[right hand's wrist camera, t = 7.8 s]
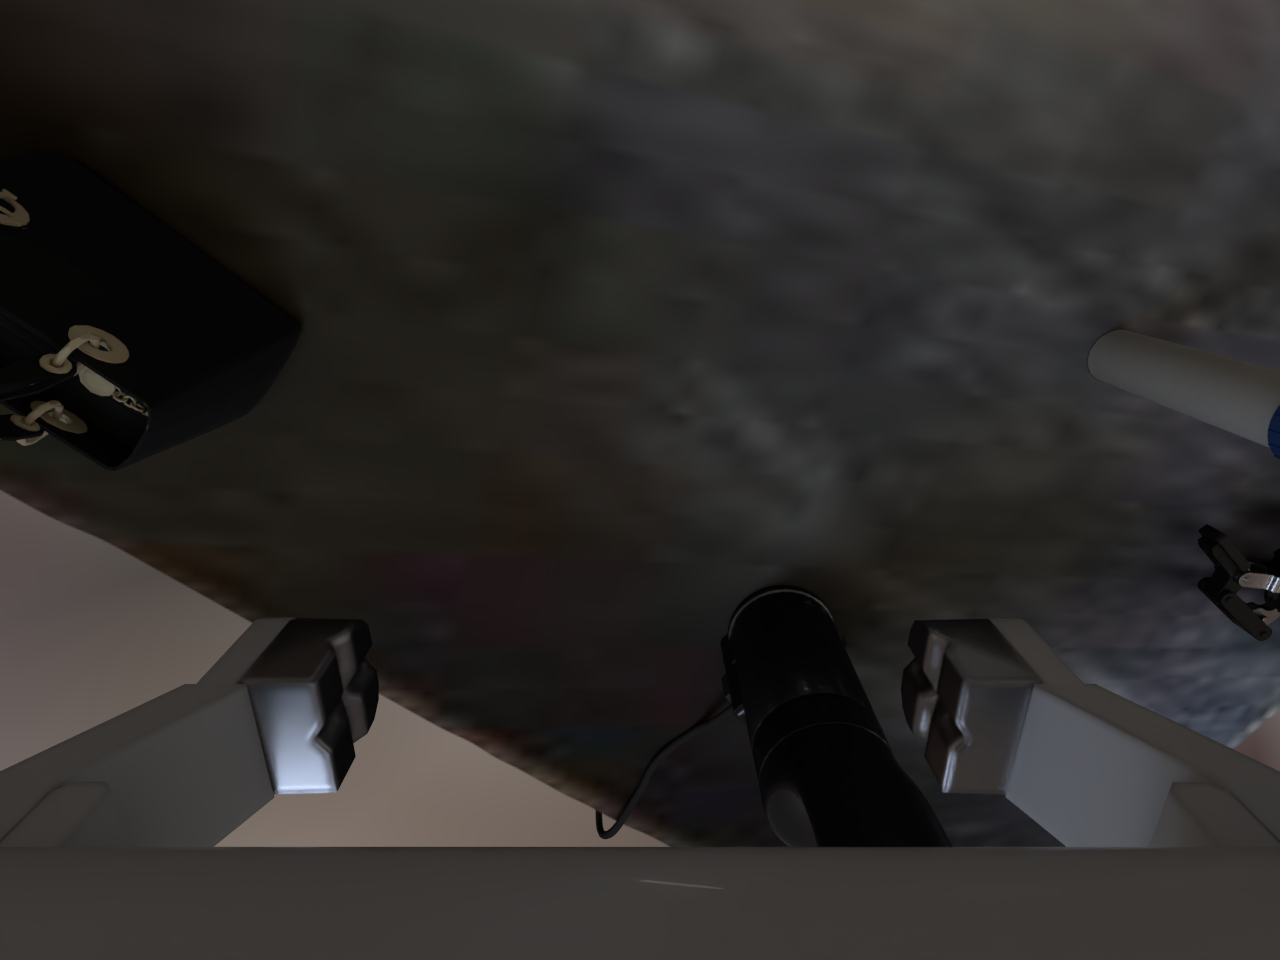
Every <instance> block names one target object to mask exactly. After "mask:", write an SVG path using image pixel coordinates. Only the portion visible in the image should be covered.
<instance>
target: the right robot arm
mask: <svg viewBox="0 0 1280 960" xmlns="http://www.w3.org/2000/svg"><path fill="white" fill-rule="evenodd" d="M371 646H372V641H371V636H370V631H369V626H368V624H367V623H366V622H365V621H364V620H363V619H322V618H296V619H295V618H262V619H258V620H255V621H254V622H253V623H252V624H251V626H250V627H249V628H248V629H247V630H246V631H245V632H244V633H243V634H242V635H241V636H240V637H239V638H238V640H237V641H236V642H235V643H234V644H233V645H232V646H231V647H230V648H229V649H228V650H227V651H226V652H225V654H224V655H223V656H222V657H221V658H220V659H219V660H218V661H217V662H216V663H215V664H214V665H213V666H212V668H211V669H210V670H209V671H208V672H207V673H206V674H205V675H204V676H203V677H202V678H201V679H200V680H199V682H198V683H197V684H184V685H182V686H180V687H178V688H176V689H174V690H171V691H169V692H167V693H165V694H163V695H161V696H159V697H157V698H155V699H153V700H150V701H148V702H146V703H144V704H142V705H140V706H138V707H136V708H133V709H131V710H129V711H127V712H125V713H123V714H121V715H119V716H116V717H114V718H112V719H110V720H108V721H106V722H104V723H102V724H100V725H98V726H95V727H93V728H91V729H89V730H87V731H85V732H83V733H80V734H78V735H76V736H74V737H72V738H70V739H68V740H66V741H64V742H61V743H59V744H57V745H55V746H53V747H51V748H49V749H47V750H45V751H42V752H40V753H38V754H36V755H34V756H32V757H30V758H28V759H25V760H23V761H21V762H19V763H17V764H15V765H13V766H11V767H9V768H6V769H4V770H2V771H0V960H1280V772H1279V771H1277V770H1275V769H1273V768H1271V767H1269V766H1267V765H1265V764H1263V763H1260V762H1258V761H1256V760H1254V759H1252V758H1250V757H1248V756H1246V755H1244V754H1241V753H1239V752H1237V751H1235V750H1233V749H1231V748H1229V747H1227V746H1225V745H1222V744H1220V743H1218V742H1216V741H1214V740H1212V739H1210V738H1208V737H1206V736H1203V735H1201V734H1199V733H1197V732H1195V731H1193V730H1191V729H1189V728H1187V727H1184V726H1182V725H1180V724H1178V723H1176V722H1174V721H1172V720H1170V719H1168V718H1165V717H1163V716H1161V715H1159V714H1157V713H1155V712H1153V711H1151V710H1149V709H1146V708H1144V707H1142V706H1140V705H1138V704H1136V703H1134V702H1132V701H1130V700H1128V699H1125V698H1123V697H1121V696H1119V695H1117V694H1115V693H1113V692H1111V691H1109V690H1106V689H1104V688H1102V687H1100V686H1098V685H1096V684H1083V683H1082V682H1081V680H1080V679H1079V678H1078V677H1077V676H1076V675H1075V674H1074V673H1073V672H1072V671H1071V670H1070V669H1069V667H1068V666H1067V665H1066V664H1065V663H1064V662H1063V661H1062V660H1061V659H1060V658H1059V657H1058V656H1057V655H1056V653H1055V652H1054V651H1053V650H1052V649H1051V648H1050V647H1049V646H1048V645H1047V644H1046V643H1045V642H1044V641H1043V639H1042V638H1041V637H1040V636H1039V635H1038V634H1037V633H1036V632H1035V631H1034V630H1033V629H1032V628H1031V627H1030V625H1029V624H1028V623H1027V622H1026V621H1024V620H1022V619H1019V618H1017V617H1011V618H984V619H955V620H915V621H914V623H913V625H912V627H911V630H910V635H909V640H908V646H909V647H910V649H911V651H912V652H913V654H914V656H915V658H914V659H913V660H912V661H911V663H910V664H909V665H908V666H907V667H906V668H905V669H904V670H903V677H902V685H901V694H902V706H903V710H904V714H905V717H906V721H907V723H908V725H909V727H910V729H911V731H912V733H913V734H914V735H915V736H917V737H918V738H920V739H921V740H923V741H924V742H926V743H927V745H926V751H925V756H924V757H925V758H926V760H927V762H928V764H929V766H930V768H931V770H932V772H933V774H934V776H935V778H936V780H937V781H938V783H939V785H940V787H941V789H942V791H943V793H977V794H1006V798H1007V799H1009V800H1010V801H1011V802H1012V803H1014V804H1015V805H1016V806H1017V807H1018V808H1020V809H1021V810H1022V811H1023V812H1025V813H1026V814H1027V815H1028V816H1030V817H1031V818H1032V819H1033V820H1034V821H1036V822H1037V823H1038V824H1039V825H1041V826H1042V827H1043V828H1044V829H1045V830H1047V831H1048V832H1049V833H1050V834H1052V835H1053V836H1054V837H1055V838H1057V839H1058V840H1059V841H1060V842H1061V843H1063V844H1064V845H1065V846H1066V847H214V846H215V845H216V844H217V843H219V842H220V841H221V840H222V839H224V838H225V837H226V836H227V835H229V834H230V833H231V832H232V831H233V830H235V829H236V828H237V827H238V826H240V825H241V824H242V823H243V822H245V821H246V820H247V819H248V818H250V817H251V816H252V815H253V814H254V813H256V812H257V811H258V810H259V809H261V808H262V807H263V806H264V805H266V804H267V803H268V802H269V801H270V800H272V799H273V798H274V794H302V793H336V792H337V791H338V789H339V787H340V785H341V783H342V782H343V779H344V778H345V776H346V774H347V772H348V770H349V768H350V766H351V764H352V762H353V760H354V758H355V751H354V745H353V743H354V742H356V741H357V740H359V739H360V738H362V737H363V736H365V735H366V734H367V733H368V731H369V729H370V727H371V725H372V723H373V721H374V718H375V713H376V709H377V704H378V699H379V683H378V676H377V670H376V669H375V668H374V667H373V666H372V665H371V664H370V663H369V661H368V660H367V659H366V658H365V656H366V654H367V653H368V651H369V649H370V647H371Z"/></svg>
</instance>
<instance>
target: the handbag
mask: <svg viewBox="0 0 1280 960" xmlns="http://www.w3.org/2000/svg"><path fill="white" fill-rule="evenodd" d="M299 334H300V328H299V326H298V324H297V323H296V322H294V321H293V320H292V319H290V318H289V317H288V316H286V315H285V314H284V313H282V312H281V311H279V310H278V309H277V308H275V307H274V306H273V305H271V304H270V303H269V302H267V301H266V300H265V299H263V298H262V297H261V296H259V295H258V294H256V293H255V292H254V291H252V290H251V289H250V288H248V287H247V286H246V285H244V284H243V283H242V282H240V281H239V280H237V279H236V278H235V277H233V276H232V275H231V274H229V273H228V272H227V271H225V270H224V269H223V268H221V267H220V266H219V265H217V264H216V263H214V262H213V261H212V260H210V259H209V258H208V257H206V256H205V255H204V254H202V253H201V252H200V251H198V250H197V249H195V248H194V247H193V246H191V245H190V244H189V243H187V242H186V241H185V240H183V239H182V238H180V237H179V236H178V235H176V234H175V233H173V232H172V231H171V230H169V229H168V228H167V227H165V226H164V225H162V224H161V223H160V222H158V221H157V220H156V219H154V218H153V217H151V216H150V215H149V214H147V213H146V212H144V211H143V210H142V209H140V208H139V207H138V206H136V205H135V204H133V203H132V202H131V201H129V200H128V199H127V198H125V197H124V196H122V195H121V194H120V193H118V192H117V191H115V190H114V189H113V188H111V187H110V186H109V185H107V184H106V183H104V182H103V181H102V180H100V179H99V178H98V177H96V176H95V175H93V174H92V173H91V172H89V171H88V170H86V169H85V168H84V167H82V166H81V165H80V164H78V163H77V162H75V161H74V160H73V159H71V158H70V157H65V156H59V155H36V156H12V157H0V403H1V404H2V405H4V406H6V407H7V408H9V409H10V410H12V411H13V412H15V413H17V414H18V415H14V414H7V415H0V440H11V441H15V440H17V442H18V443H20V444H21V445H24V446H26V445H30V444H34V443H36V442H37V441H39V440H40V439H42V438H43V437H45V436H46V435H47V434H50V435H52V436H53V437H55V438H56V439H58V440H60V441H61V442H63V443H64V444H66V445H68V446H69V447H71V448H72V449H74V450H75V451H77V452H79V453H80V454H82V455H83V456H85V457H87V458H88V459H90V460H91V461H93V462H95V463H96V464H98V465H99V466H101V467H103V468H104V469H106V470H110V471H113V472H114V471H117V470H119V469H122V468H124V467H127V466H129V465H131V464H134V463H136V462H138V461H141V460H143V459H145V458H148V457H150V456H153V455H155V454H157V453H160V452H162V451H164V450H167V449H169V448H171V447H174V446H176V445H179V444H181V443H183V442H186V441H188V440H190V439H193V438H195V437H198V436H200V435H202V434H205V433H207V432H209V431H212V430H214V429H216V428H219V427H221V426H223V425H225V424H227V423H229V422H231V421H233V420H236V419H238V418H240V417H242V416H244V415H246V414H247V413H249V412H250V411H251V410H252V409H253V408H254V407H255V405H256V404H257V403H258V402H259V401H260V399H261V398H262V397H263V396H264V395H265V393H266V392H267V391H268V389H269V388H270V386H271V385H272V383H273V382H274V380H275V378H276V377H277V375H278V374H279V372H280V371H281V369H282V368H283V366H284V365H285V363H286V362H287V360H288V358H289V356H290V354H291V352H292V350H293V348H294V346H295V344H296V342H297V340H298V337H299ZM51 416H52V417H51ZM59 420H61V421H63V422H64V423H63V422H60V421H59Z"/></svg>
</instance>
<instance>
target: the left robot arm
mask: <svg viewBox="0 0 1280 960" xmlns="http://www.w3.org/2000/svg"><path fill="white" fill-rule="evenodd" d="M1198 531H1199V533H1200V534H1201V535H1202V537H1201V538H1200V539H1198V543H1199V546H1200V547H1201V549H1202V550H1203V551H1204V552H1205V553H1206V555H1207V556H1208V557H1209V558H1210V560H1211V561H1212V562H1213V563H1214V564H1215V566H1214V567H1215V572H1214V574H1213V575H1212V576H1211V577H1205V578H1203V579H1201V580H1200V581H1199V583H1198V588H1199V589H1200V590H1201V591H1202V592H1203V593H1204V594H1205V595H1206V596H1207V597H1208V598H1209V599H1210V600H1211V601H1212V602H1213V603H1214V604H1215V605H1216V606H1217V607H1218V608H1219V609H1220V610H1221V611H1222V612H1223V613H1224V614H1225V615H1226V616H1227V617H1228V618H1229V619H1230V620H1231V621H1232V622H1233V623H1235V624H1236V625H1238V626H1239V627H1240V628H1242V629H1243V630H1244V631H1246V632H1247V633H1249V634H1250V635H1252V636H1253V637H1254V638H1256V639H1257V640H1259V641H1263V640H1266V639H1268V638H1269V637H1270V636H1271V634H1272V630H1271V629H1270V628H1269V627H1268V625H1269V624H1271V623H1272V622H1274V621H1275V620H1276V619H1278V618H1279V617H1280V548H1279V549H1278V550H1276V551H1275V552H1273V553H1274V554H1275V556H1274V557H1273V558H1272V560H1270V559H1260V558H1250V557H1244V556H1243V555H1242V554H1241V552H1240V551H1239V550H1238V549H1237V547H1236V546H1235V545H1234V544H1233V543H1232V541H1231V540H1230V539H1229V538H1228V537H1227V536H1226V535H1225V534H1223V533H1222V532H1220V531H1218V530H1216V529H1215V528H1213V527H1211V526H1209V525H1207V524H1206V525H1205V526H1204V527H1202V528H1201V529H1199V530H1198ZM1241 587H1249V588H1259V589H1265V594H1264V599H1265V601H1266V603H1265V604H1262V605H1257V604H1255V603H1253V602H1249V603H1245V602H1244V601H1242V600H1241V599H1240V598H1239V597H1238V596H1237V595H1236V593H1237V591H1238V590H1239V589H1240V588H1241ZM846 644H847V641H846V639H845V637H844V635H843V638H842V641H841V638H840V636H839V634H838V632H837V629H836V626H835V624H834V621H833V618H832V616H831V614H830V612H829V610H828V608H827V606H826V605H825V604H824V603H823V602H822V600H821V599H819V598H818V597H817V596H815V595H814V594H812V593H810V592H809V591H806V590H804V589H800V588H796V587H789V586H780V587H772V588H768V589H765V590H762V591H760V592H757V593H755V594H753V595H752V596H750V597H749V598H747V599H746V600H745V601H744V602H743V603H742V604H741V605H740V606H739V607H738V608H737V609H736V611H735V612H734V614H733V616H732V618H731V620H730V623H729V627H728V635H727V636H726V638H724V639H723V640H722V641H721V648H722V653H723V659H724V664H725V670H726V675H724V676H723V677H722V684H723V690H724V696H725V698H726V699H727V700H729V701H730V702H731V703H732V704H731V705H730V706H728V707H727V708H726V709H724V710H723V711H722V712H720V713H719V714H718V715H716V716H715V717H713V718H711V719H710V720H708V721H705V722H702V723H700V724H698V725H697V726H695V727H694V728H692V729H690V730H689V731H687V732H686V733H684V734H683V735H681V736H680V737H678V738H677V739H675V740H674V741H672V742H671V743H670V744H669V745H667V746H666V747H665V748H664V749H663V750H662V751H661V752H660V753H659V754H658V755H657V756H656V757H655V758H654V759H653V761H652V762H651V763H650V765H649V767H648V768H647V770H646V772H645V774H644V776H643V779H642V781H641V783H640V785H639V786H638V788H637V790H636V791H635V793H634V794H633V796H632V798H631V799H630V801H629V802H628V804H627V806H626V807H625V809H624V811H623V812H622V814H621V815H620V817H619V818H618V820H617V821H616V823H615V824H614V825H613V826H612V827H611V828H610V829H609V830H608V831H604V828H603V821H602V813H601V812H599V811H597V810H595V813H596V829H597V832H598V834H599V836H600V837H601V838H603V839H608V838H611V837H613V836H614V835H615V834H616V833H617V832H618V831H619V829H620V828H621V827H622V825H623V824H624V822H625V821H626V819H627V818H628V816H629V814H630V813H631V811H632V810H633V808H634V806H635V805H636V803H637V802H638V800H639V799H640V797H641V796H642V794H643V792H644V790H645V789H646V787H647V785H648V782H649V780H650V778H651V776H652V774H653V773H654V771H655V769H656V768H657V767H658V765H659V764H660V763H661V762H662V761H663V760H664V759H665V758H666V757H667V756H668V755H669V754H670V753H671V752H672V751H674V750H675V749H676V748H678V747H679V746H680V745H682V744H683V743H685V742H686V741H688V740H689V739H691V738H693V737H694V736H696V735H697V734H699V733H701V732H702V731H704V730H707V729H710V728H712V727H714V726H716V725H718V724H719V723H721V722H722V721H724V720H725V719H726V718H728V717H729V716H731V715H732V714H733V713H734V714H735V715H736V716H737V717H738V718H739V719H740V720H741V721H743V722H744V723H745V724H746V725H747V729H748V734H749V739H750V744H751V748H752V753H753V758H754V762H755V767H756V772H757V777H758V782H759V787H760V793H761V798H762V803H763V807H764V811H765V815H766V818H767V820H768V822H769V824H770V826H771V828H772V830H773V831H774V833H775V834H776V835H777V836H778V837H779V838H780V839H781V840H782V841H783V842H784V843H785V844H787V845H788V846H789V847H953V846H952V844H951V842H950V840H949V838H948V837H947V835H946V833H945V831H944V829H943V828H942V826H941V824H940V822H939V820H938V818H937V816H936V815H935V813H934V811H933V809H932V807H931V805H930V804H929V802H928V801H927V799H926V797H925V796H924V795H923V793H922V792H921V790H920V789H919V788H918V787H917V785H916V784H915V783H914V782H913V780H912V779H911V778H910V777H909V776H908V775H907V774H906V773H905V772H904V771H903V769H902V768H901V767H900V766H899V764H898V763H897V761H896V759H895V757H894V755H893V752H892V750H891V748H890V745H889V743H888V741H887V739H886V737H885V735H884V732H883V730H882V728H881V726H880V724H879V721H878V719H877V717H876V715H875V713H874V711H873V708H872V706H871V704H870V702H869V700H868V698H867V695H866V693H865V691H864V689H863V687H862V684H861V682H860V680H859V678H858V676H857V673H856V671H855V669H854V667H853V665H852V662H851V660H850V658H849V656H848V654H847V652H846V649H845V648H846Z"/></svg>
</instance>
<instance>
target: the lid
mask: <svg viewBox="0 0 1280 960" xmlns="http://www.w3.org/2000/svg"><path fill="white" fill-rule="evenodd" d="M1267 437H1268V446H1269V447H1270V449H1271V451H1272V452H1273V453H1274V457H1276V458H1279V459H1280V405H1279V407H1278V408H1277V409H1276V411H1275V412H1274V414H1273V416H1272V418H1271V420H1270V423H1269V427H1268V435H1267Z"/></svg>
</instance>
